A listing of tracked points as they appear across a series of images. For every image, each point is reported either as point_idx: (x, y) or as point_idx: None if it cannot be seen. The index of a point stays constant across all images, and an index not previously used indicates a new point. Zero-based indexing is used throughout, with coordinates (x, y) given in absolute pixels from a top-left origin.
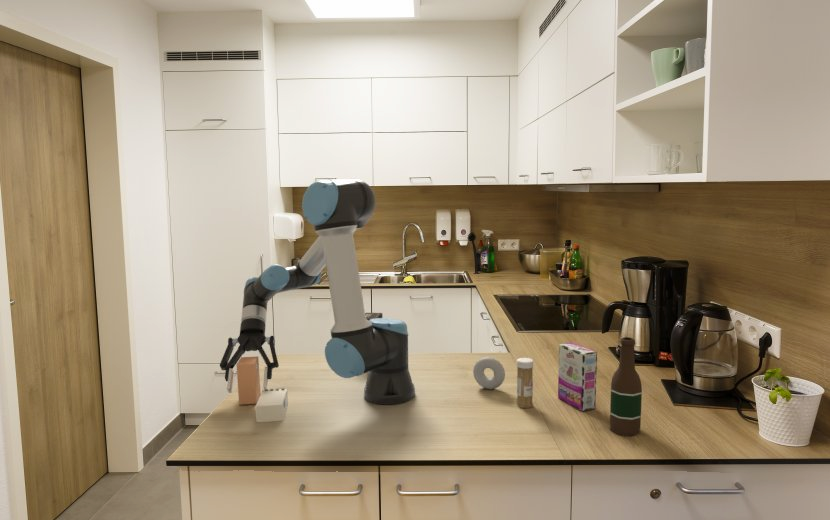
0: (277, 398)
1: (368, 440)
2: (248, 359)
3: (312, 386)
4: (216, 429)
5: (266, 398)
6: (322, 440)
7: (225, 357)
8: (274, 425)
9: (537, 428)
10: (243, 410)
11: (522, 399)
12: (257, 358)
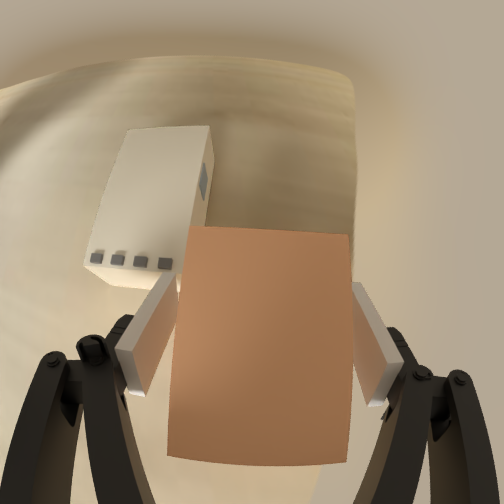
0: (131, 174)
1: (44, 100)
2: (260, 383)
3: None
4: (321, 144)
5: (168, 178)
6: (97, 93)
7: (469, 429)
8: None
9: None
10: None
11: None
12: (170, 410)
